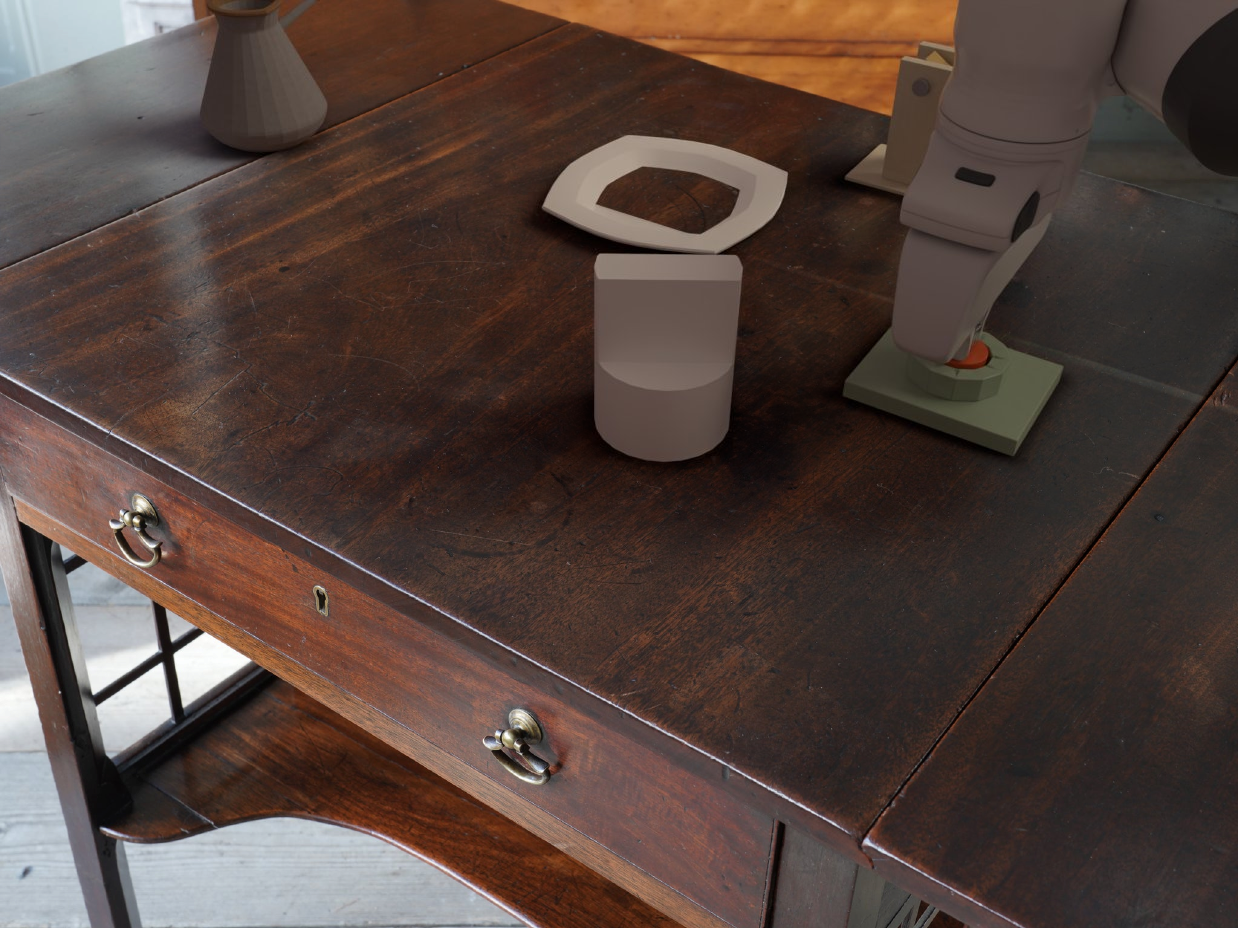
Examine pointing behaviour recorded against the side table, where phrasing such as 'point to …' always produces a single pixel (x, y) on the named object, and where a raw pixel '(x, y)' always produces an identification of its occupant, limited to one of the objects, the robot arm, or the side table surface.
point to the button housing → (958, 391)
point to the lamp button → (972, 358)
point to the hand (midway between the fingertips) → (959, 348)
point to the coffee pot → (259, 79)
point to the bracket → (908, 122)
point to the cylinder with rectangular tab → (664, 351)
